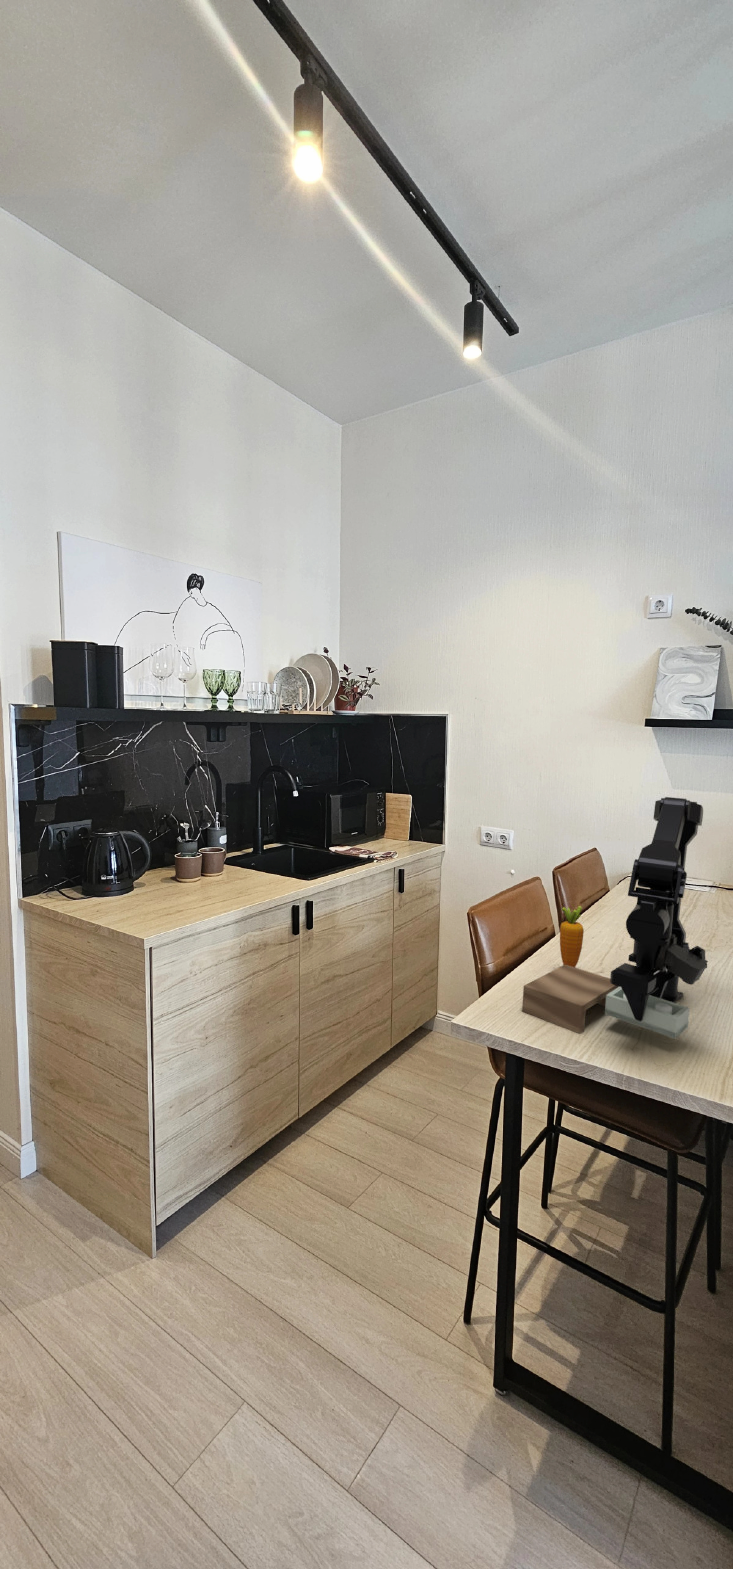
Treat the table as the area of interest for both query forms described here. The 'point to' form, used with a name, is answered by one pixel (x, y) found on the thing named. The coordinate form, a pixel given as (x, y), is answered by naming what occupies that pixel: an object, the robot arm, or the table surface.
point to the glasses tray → (650, 1013)
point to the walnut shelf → (565, 996)
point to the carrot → (571, 937)
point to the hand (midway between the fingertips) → (646, 1014)
